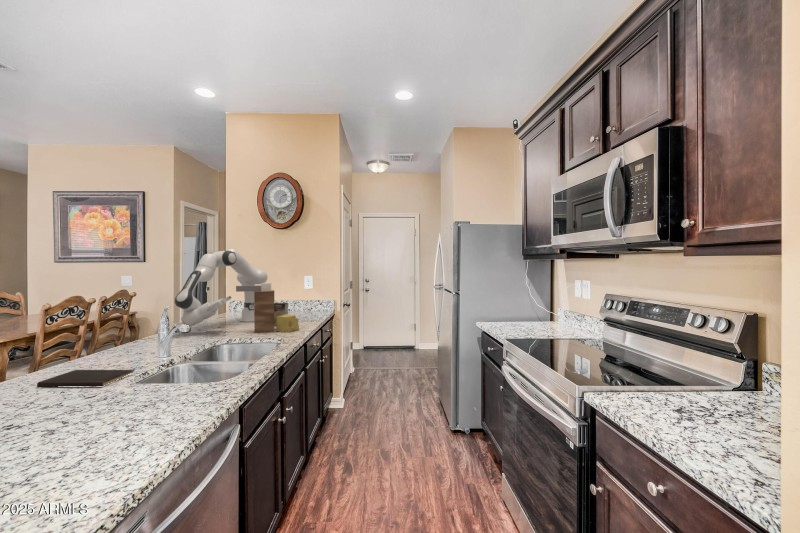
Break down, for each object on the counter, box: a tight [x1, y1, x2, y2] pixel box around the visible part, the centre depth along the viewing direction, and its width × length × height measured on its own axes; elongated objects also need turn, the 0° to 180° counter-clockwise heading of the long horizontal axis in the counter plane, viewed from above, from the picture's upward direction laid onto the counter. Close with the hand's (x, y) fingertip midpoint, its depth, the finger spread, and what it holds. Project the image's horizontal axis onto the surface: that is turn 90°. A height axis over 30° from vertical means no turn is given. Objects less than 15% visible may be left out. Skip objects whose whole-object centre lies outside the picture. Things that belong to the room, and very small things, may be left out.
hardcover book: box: [36, 369, 135, 388], centre depth 141 cm, size 16×23×2 cm
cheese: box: [275, 313, 300, 333], centre depth 247 cm, size 10×11×10 cm
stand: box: [253, 289, 275, 334], centre depth 246 cm, size 12×13×26 cm
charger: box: [235, 282, 272, 293], centre depth 244 cm, size 6×21×5 cm, turn 108°
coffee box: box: [274, 302, 289, 327], centre depth 266 cm, size 9×6×16 cm
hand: (230, 297), depth 239 cm, fingers open, 8 cm apart
